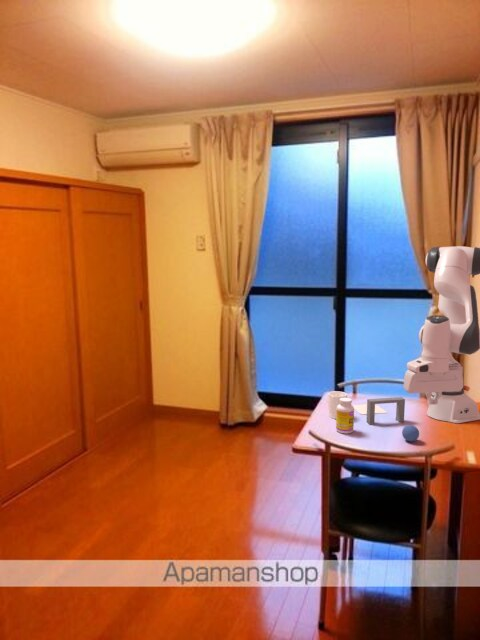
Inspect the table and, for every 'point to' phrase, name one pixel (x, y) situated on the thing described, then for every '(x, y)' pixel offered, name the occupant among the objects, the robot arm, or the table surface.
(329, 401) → the white cup
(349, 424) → the supplement bottle
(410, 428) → the ball
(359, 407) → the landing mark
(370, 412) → the bridge
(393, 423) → the table surface
